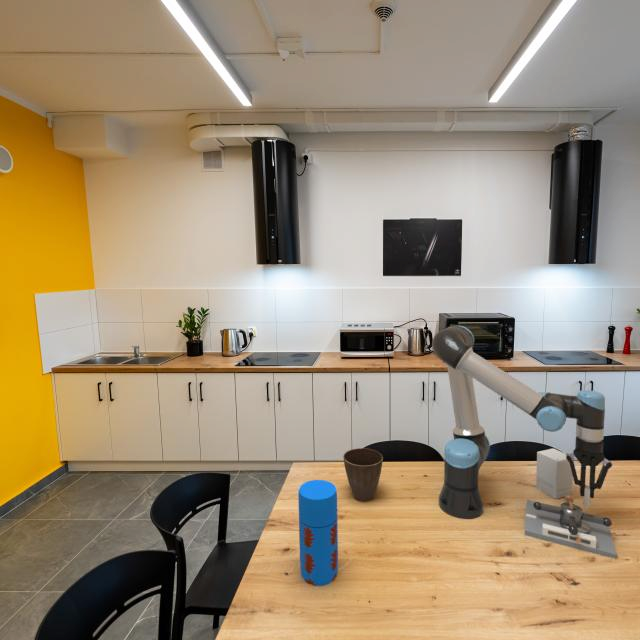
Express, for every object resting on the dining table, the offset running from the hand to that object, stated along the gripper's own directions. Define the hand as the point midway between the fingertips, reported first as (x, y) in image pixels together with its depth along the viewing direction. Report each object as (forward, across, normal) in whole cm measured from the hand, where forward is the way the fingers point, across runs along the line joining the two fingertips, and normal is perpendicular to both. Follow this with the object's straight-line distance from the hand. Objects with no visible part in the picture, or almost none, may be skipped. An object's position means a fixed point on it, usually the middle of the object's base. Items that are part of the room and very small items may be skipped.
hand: (586, 505), depth 133 cm
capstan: (+4, +5, +8) cm, 10 cm away
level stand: (+6, +6, +6) cm, 11 cm away
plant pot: (+6, +73, +20) cm, 76 cm away
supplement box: (+6, +9, -18) cm, 21 cm away
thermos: (+6, +69, +62) cm, 92 cm away
